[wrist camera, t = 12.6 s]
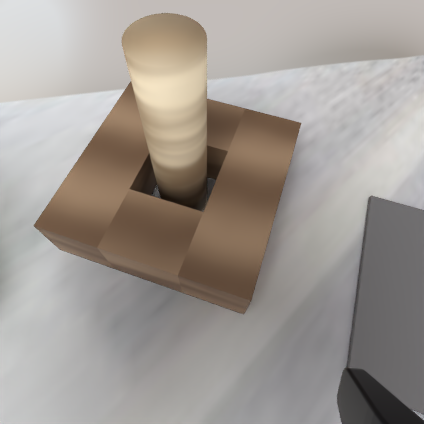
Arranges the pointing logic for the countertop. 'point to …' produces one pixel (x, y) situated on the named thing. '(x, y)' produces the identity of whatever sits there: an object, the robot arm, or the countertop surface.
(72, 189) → the hole block
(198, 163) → the peg
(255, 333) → the countertop surface
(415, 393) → the mat
